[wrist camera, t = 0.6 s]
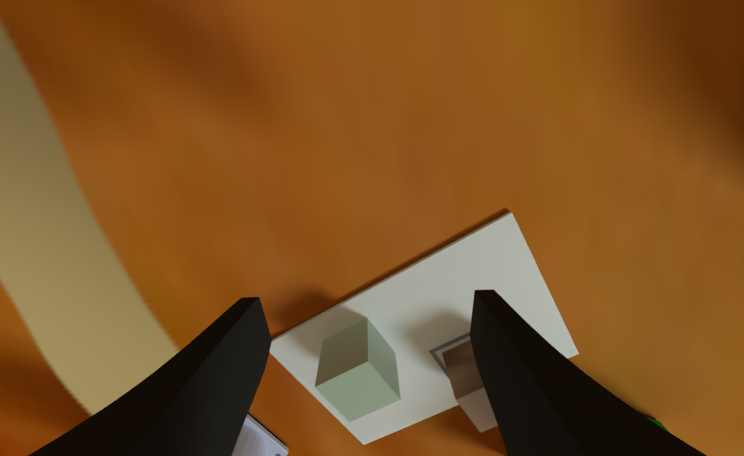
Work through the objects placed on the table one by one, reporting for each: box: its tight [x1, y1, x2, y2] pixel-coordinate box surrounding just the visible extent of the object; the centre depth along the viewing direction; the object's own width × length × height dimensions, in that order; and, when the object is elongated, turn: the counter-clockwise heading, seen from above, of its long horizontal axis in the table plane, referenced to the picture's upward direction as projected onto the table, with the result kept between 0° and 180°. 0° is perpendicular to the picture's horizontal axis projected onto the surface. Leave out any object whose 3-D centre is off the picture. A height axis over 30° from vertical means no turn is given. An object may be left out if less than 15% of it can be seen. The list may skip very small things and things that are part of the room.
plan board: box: [269, 211, 579, 445], centre depth 24 cm, size 20×14×1 cm
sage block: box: [315, 318, 401, 422], centre depth 22 cm, size 4×4×4 cm
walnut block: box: [442, 340, 498, 433], centre depth 23 cm, size 4×4×4 cm
